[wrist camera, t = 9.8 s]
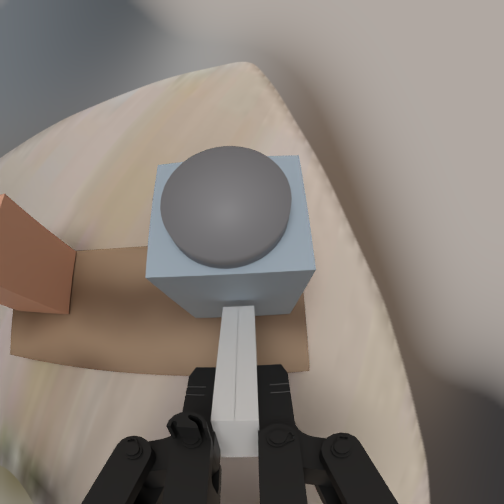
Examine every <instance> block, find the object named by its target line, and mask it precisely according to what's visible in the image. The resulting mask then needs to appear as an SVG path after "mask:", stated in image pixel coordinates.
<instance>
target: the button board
mask: <svg viewBox="0 0 504 504" xmlns="http://www.w3.org/2000/svg"><path fill="white" fill-rule="evenodd" d="M147 250H148V246H144V247H129V248H113V249H98V250H84V251H76V256H75V262H74V269H73V277H72V285H71V294H70V304H69V314H53V313H38V312H26V311H17V310H15V309H13V317H12V329H11V350H10V354H11V355H15V356H19V357H24V358H29V359H34V360H39V361H44V362H50V363H55V364H61V365H68V366H74V367H81V368H89V369H97V370H106V371H115V372H126V373H139V374H155V375H179V376H190V375H191V373H192V372H193V371H194V369H195V368H196V367H216V365H217V356H218V347H219V338H220V329H221V321H222V317H214V318H195V317H194V316H192V315H191V314H190V313H189V312H187V311H186V310H185V309H183V308H182V307H181V306H180V305H178V304H177V303H176V302H175V301H173V300H172V299H171V298H170V297H168V296H167V295H166V294H165V293H163V292H162V291H161V290H160V289H158V288H157V287H156V286H155V285H154V284H152V283H151V282H150V281H149V280H148V279H146V278H145V277H146V262H147ZM255 330H256V348H257V365H273V364H281V365H282V366H283V367H284V369H285V370H286V371H287V373H291V372H302V371H309V356H308V342H307V329H306V317H305V306H304V295H303V293H302V294H301V296H300V298H299V299H298V301H297V303H296V305H295V306H294V308H293V310H292V311H291V313H290V314H279V315H262V316H255Z"/></svg>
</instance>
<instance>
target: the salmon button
mask: <svg viewBox="0 0 504 504" xmlns="http://www.w3.org/2000/svg"><path fill="white" fill-rule="evenodd" d="M75 256H76V251H75V250H73V249H72V248H71V247H69V246H68V245H67V244H65V243H64V242H63V241H61V240H60V239H59V238H57V237H56V236H55V235H54V234H52V233H51V232H50V231H49V230H47V229H46V228H45V227H44V226H42V225H41V224H40V223H39V222H37V221H36V220H35V219H34V218H32V217H31V216H30V215H29V214H28V213H26V212H25V211H24V210H23V209H22V208H21V207H19V206H18V205H17V204H16V203H15V202H14V201H13V200H11V199H10V198H9V197H8V196H7V195H6V194H2V195H0V304H1V305H4V306H7V307H9V308H12V309H15V310H17V311H26V312H38V313H53V314H69V304H70V294H71V285H72V277H73V269H74V262H75Z"/></svg>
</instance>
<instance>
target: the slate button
mask: <svg viewBox="0 0 504 504" xmlns="http://www.w3.org/2000/svg"><path fill="white" fill-rule="evenodd" d="M315 270H316V268H315V259H314V252H313V244H312V236H311V229H310V222H309V215H308V209H307V202H306V196H305V189H304V183H303V177H302V171H301V165H300V160H299V155H297V156H265V155H264V154H262V153H260V152H257V151H255V150H252V149H249V148H244V147H236V146H223V147H216V148H212V149H208V150H205V151H202V152H200V153H198V154H195V155H194V156H192V157H190V158H188V159H187V160H186V161H184V162H180V163H171V164H163V165H158V168H157V175H156V181H155V188H154V196H153V203H152V211H151V220H150V229H149V239H148V250H147V262H146V277H145V278H146V279H148V280H149V281H150V282H151V283H152V284H154V285H155V286H156V287H157V288H158V289H160V290H161V291H162V292H163V293H165V294H166V295H167V296H168V297H170V298H171V299H172V300H173V301H175V302H176V303H177V304H178V305H180V306H181V307H182V308H183V309H185V310H186V311H187V312H189V313H190V314H191V315H192V316H194V317H195V318H214V317H222V312H223V307H234V306H254V311H255V316H262V315H279V314H290V313H291V311H292V310H293V308H294V306H295V305H296V303H297V301H298V299H299V298H300V296H301V294H302V293H303V291H304V289H305V287H306V286H307V284H308V282H309V281H310V279H311V277H312V275H313V274H314V272H315Z"/></svg>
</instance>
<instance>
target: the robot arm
mask: <svg viewBox="0 0 504 504" xmlns="http://www.w3.org/2000/svg"><path fill="white" fill-rule="evenodd" d="M167 428H168V430H169V432H170V434H171V436H170V437H168V438H164V439H160V440H155V441H149V442H148V441H147V440H145V439H144V438H142V437H138V436H130V437H126V438H124V439H122V440H121V441H120V442H119V443H118V444H117V446H116V448H115V449H114V451H113V453H112V454H111V456H110V457H109V459H108V461H107V462H106V464H105V466H104V467H103V469H102V471H101V472H100V474H99V476H98V477H97V479H96V480H95V482H94V484H93V485H92V487H91V489H90V490H89V492H88V494H87V495H86V497H85V499H84V500H83V502H82V504H220V491H221V465H220V454H221V457H259V488H260V504H307V497H306V489H305V484H312V485H315V487H316V489H317V492H318V494H319V496H320V498H321V500H322V502H323V504H398V502H397V501H396V499H395V498H394V496H393V494H392V493H391V491H390V490H389V488H388V486H387V485H386V483H385V482H384V480H383V478H382V477H381V475H380V474H379V472H378V470H377V469H376V467H375V466H374V464H373V462H372V461H371V459H370V458H369V456H368V454H367V453H366V451H365V450H364V448H363V446H362V445H361V443H360V442H359V440H358V439H357V438H356V437H355V436H352V435H350V434H348V433H337V434H333V435H331V436H329V437H328V438H327V439H326V438H318V437H312V436H309V435H306V434H304V433H302V432H301V431H300V430H299V429H298V428H297V426H296V425H295V421H294V415H293V408H292V401H291V394H290V387H289V380H288V373H287V371H286V370H285V369H284V367H283V366H282V365H281V364H273V365H257V348H256V330H255V311H254V306H234V307H223V312H222V321H221V329H220V338H219V347H218V356H217V365H216V367H196V368H195V369H194V371H193V372H192V373H191V375H190V376H189V381H188V388H187V391H186V396H185V402H184V407H183V412H181V413H179V414H177V415H174V416H173V417H172V418H171V419H170V420H169V422H168V424H167Z"/></svg>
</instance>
